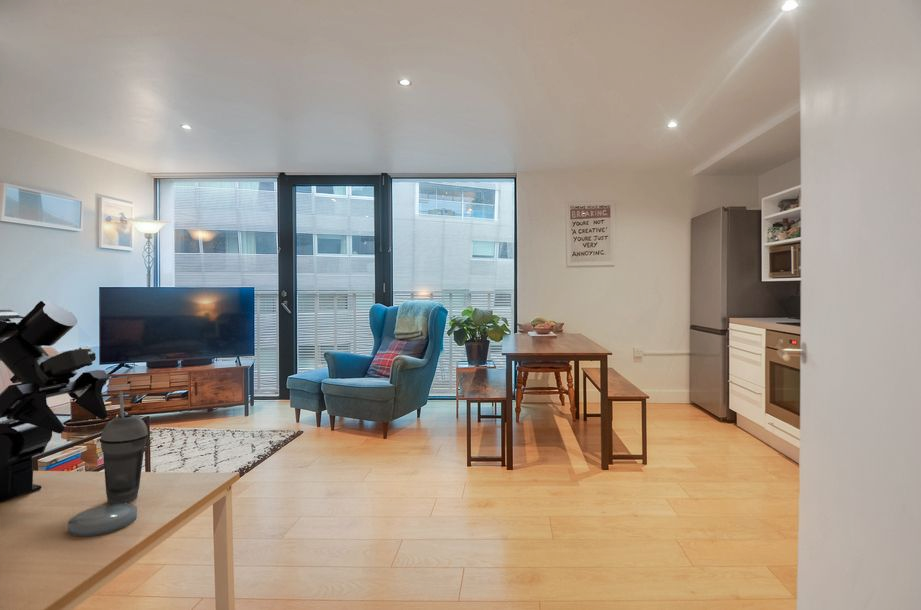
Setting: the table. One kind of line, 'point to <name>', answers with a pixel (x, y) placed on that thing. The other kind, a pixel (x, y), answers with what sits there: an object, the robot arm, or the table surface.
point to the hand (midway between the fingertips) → (85, 424)
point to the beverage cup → (123, 456)
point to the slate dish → (102, 519)
